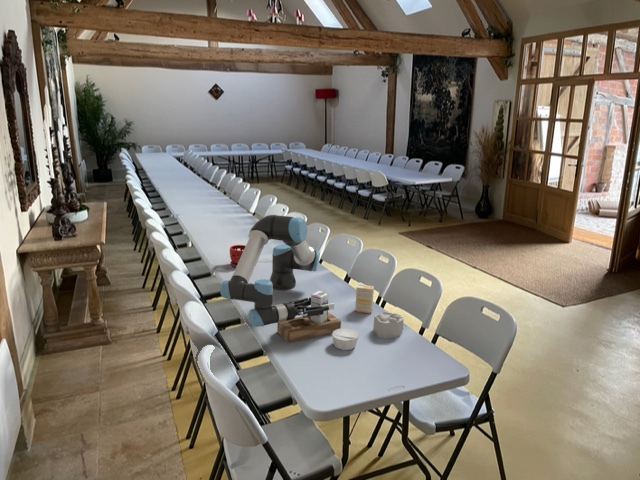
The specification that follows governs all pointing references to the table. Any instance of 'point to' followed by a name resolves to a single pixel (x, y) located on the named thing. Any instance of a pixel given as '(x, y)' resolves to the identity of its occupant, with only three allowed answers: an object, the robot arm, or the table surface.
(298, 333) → the wooden divided tray
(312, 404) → the table surface
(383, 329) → the lumpy-topped squat cylinder
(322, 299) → the syrup box
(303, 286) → the table surface
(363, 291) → the supplement box
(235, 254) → the plant pot
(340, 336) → the ramekin
